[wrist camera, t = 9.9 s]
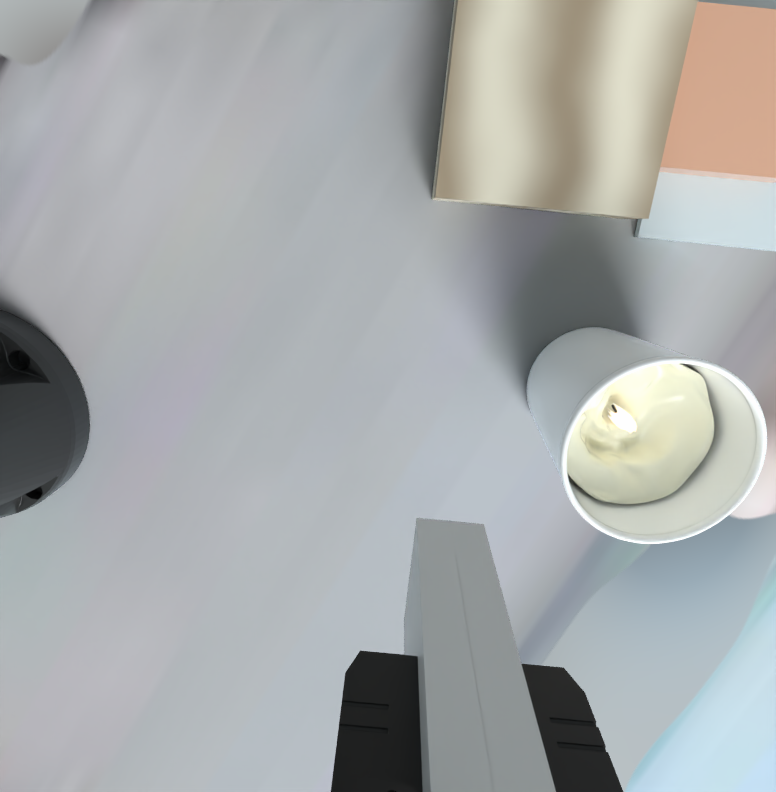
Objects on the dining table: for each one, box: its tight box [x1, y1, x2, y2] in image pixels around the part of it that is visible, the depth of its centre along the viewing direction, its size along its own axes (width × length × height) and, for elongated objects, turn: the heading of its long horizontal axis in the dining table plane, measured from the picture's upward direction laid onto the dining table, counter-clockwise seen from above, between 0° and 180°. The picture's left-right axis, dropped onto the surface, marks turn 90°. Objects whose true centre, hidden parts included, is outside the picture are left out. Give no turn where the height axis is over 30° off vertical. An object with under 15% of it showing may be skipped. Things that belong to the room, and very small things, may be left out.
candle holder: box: [527, 327, 767, 544], centre depth 33 cm, size 10×10×12 cm
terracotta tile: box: [659, 2, 776, 183], centre depth 32 cm, size 8×8×2 cm
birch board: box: [432, 0, 698, 219], centre depth 31 cm, size 12×14×4 cm
